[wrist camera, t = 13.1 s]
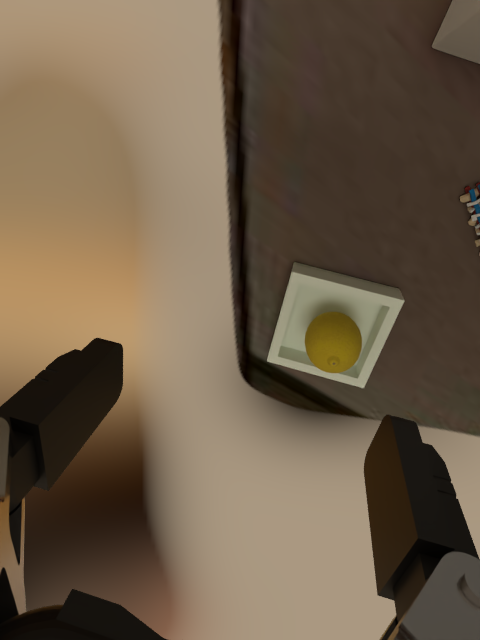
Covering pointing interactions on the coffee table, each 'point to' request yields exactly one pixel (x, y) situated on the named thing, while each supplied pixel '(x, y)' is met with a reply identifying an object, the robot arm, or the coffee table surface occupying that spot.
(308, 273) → the tray
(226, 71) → the coffee table surface
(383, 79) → the coffee table surface
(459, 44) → the milk carton
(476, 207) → the woven mat
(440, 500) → the robot arm
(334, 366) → the lemon
